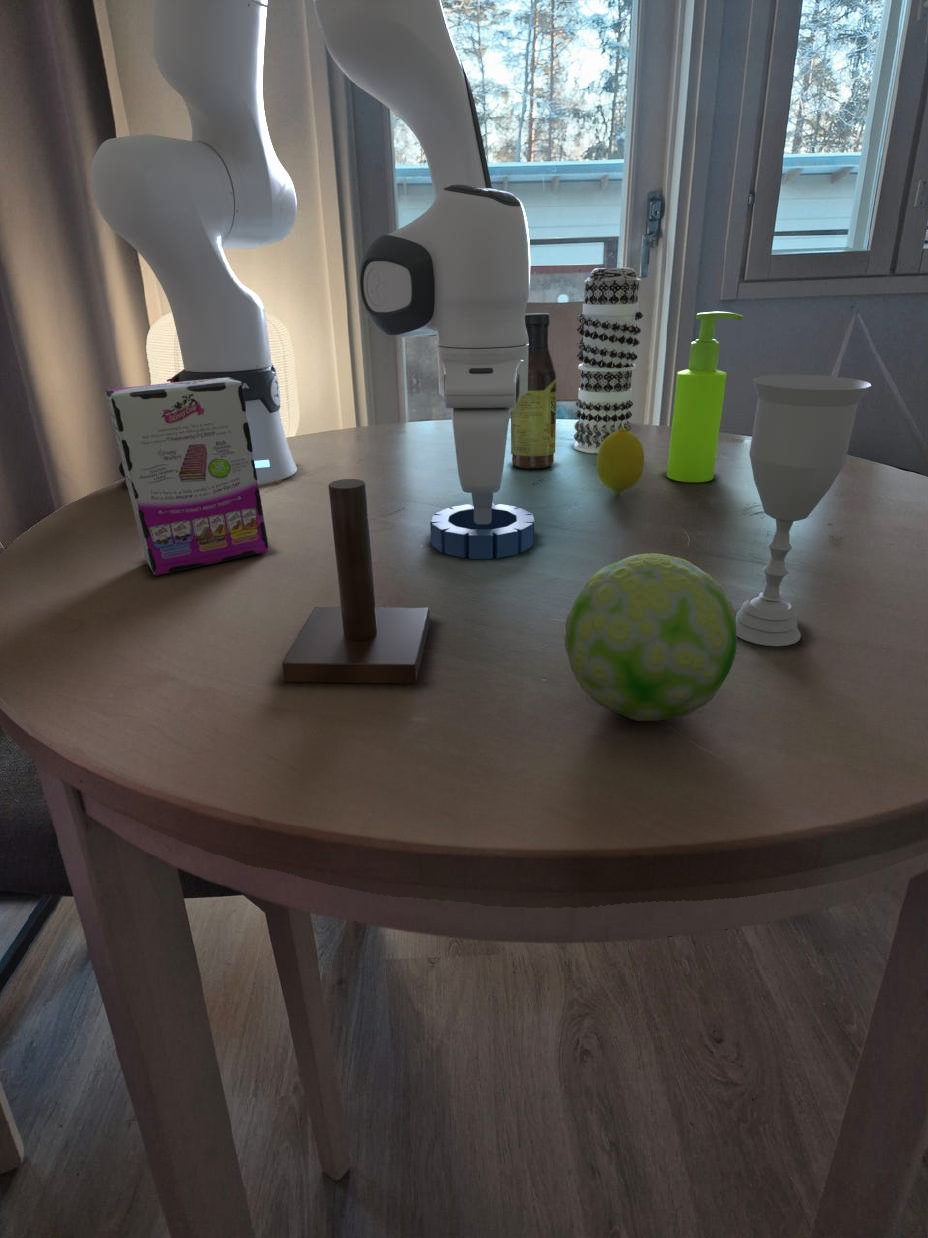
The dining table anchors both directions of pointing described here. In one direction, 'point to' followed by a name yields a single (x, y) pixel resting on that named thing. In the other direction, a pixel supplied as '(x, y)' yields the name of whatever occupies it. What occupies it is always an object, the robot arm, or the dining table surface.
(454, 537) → the bracelet
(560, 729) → the dining table surface
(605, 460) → the lemon
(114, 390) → the candy bar box
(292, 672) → the stand
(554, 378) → the sauce bottle
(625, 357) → the decorative candle
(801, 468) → the chalice
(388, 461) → the dining table surface
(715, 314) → the soap dispenser
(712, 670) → the decorative ball
